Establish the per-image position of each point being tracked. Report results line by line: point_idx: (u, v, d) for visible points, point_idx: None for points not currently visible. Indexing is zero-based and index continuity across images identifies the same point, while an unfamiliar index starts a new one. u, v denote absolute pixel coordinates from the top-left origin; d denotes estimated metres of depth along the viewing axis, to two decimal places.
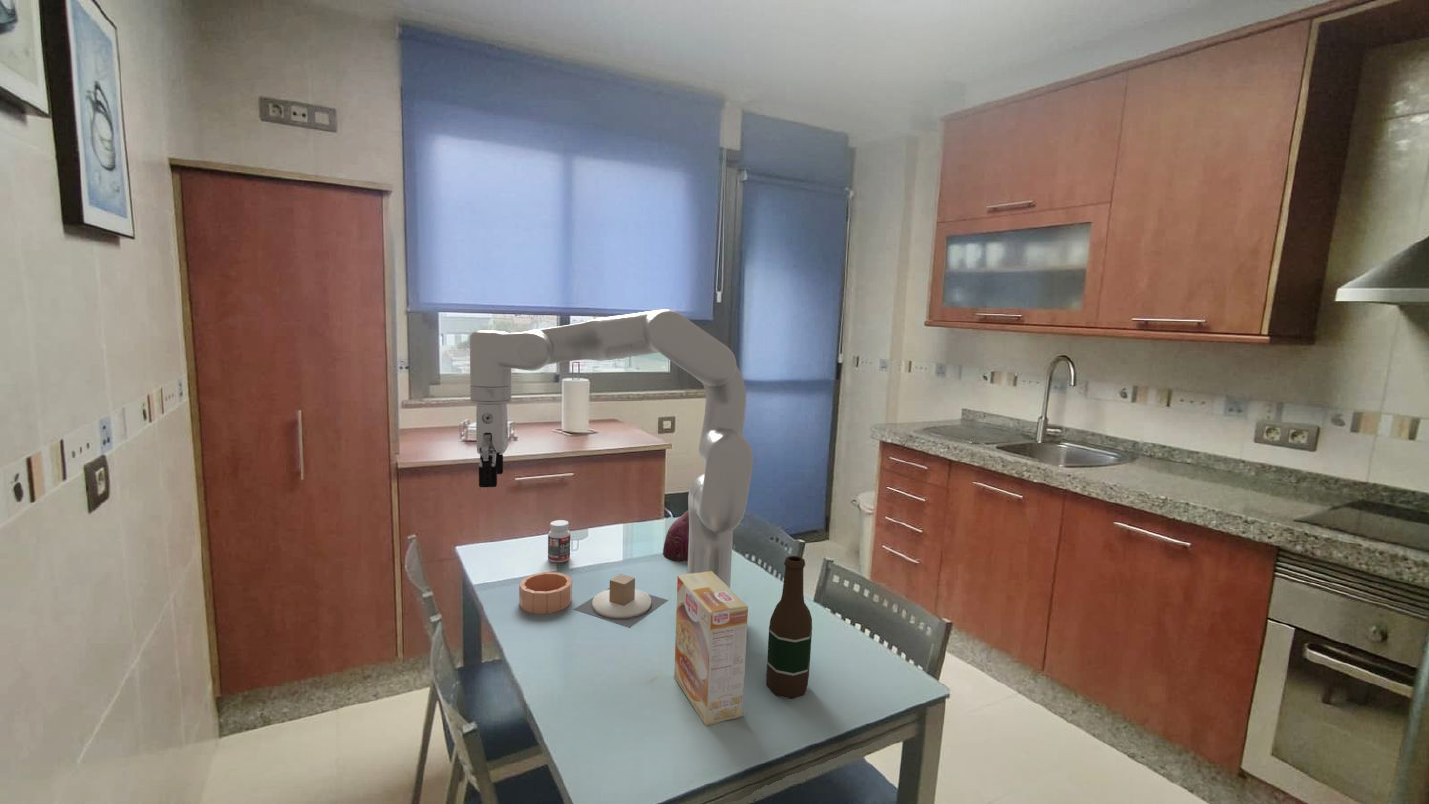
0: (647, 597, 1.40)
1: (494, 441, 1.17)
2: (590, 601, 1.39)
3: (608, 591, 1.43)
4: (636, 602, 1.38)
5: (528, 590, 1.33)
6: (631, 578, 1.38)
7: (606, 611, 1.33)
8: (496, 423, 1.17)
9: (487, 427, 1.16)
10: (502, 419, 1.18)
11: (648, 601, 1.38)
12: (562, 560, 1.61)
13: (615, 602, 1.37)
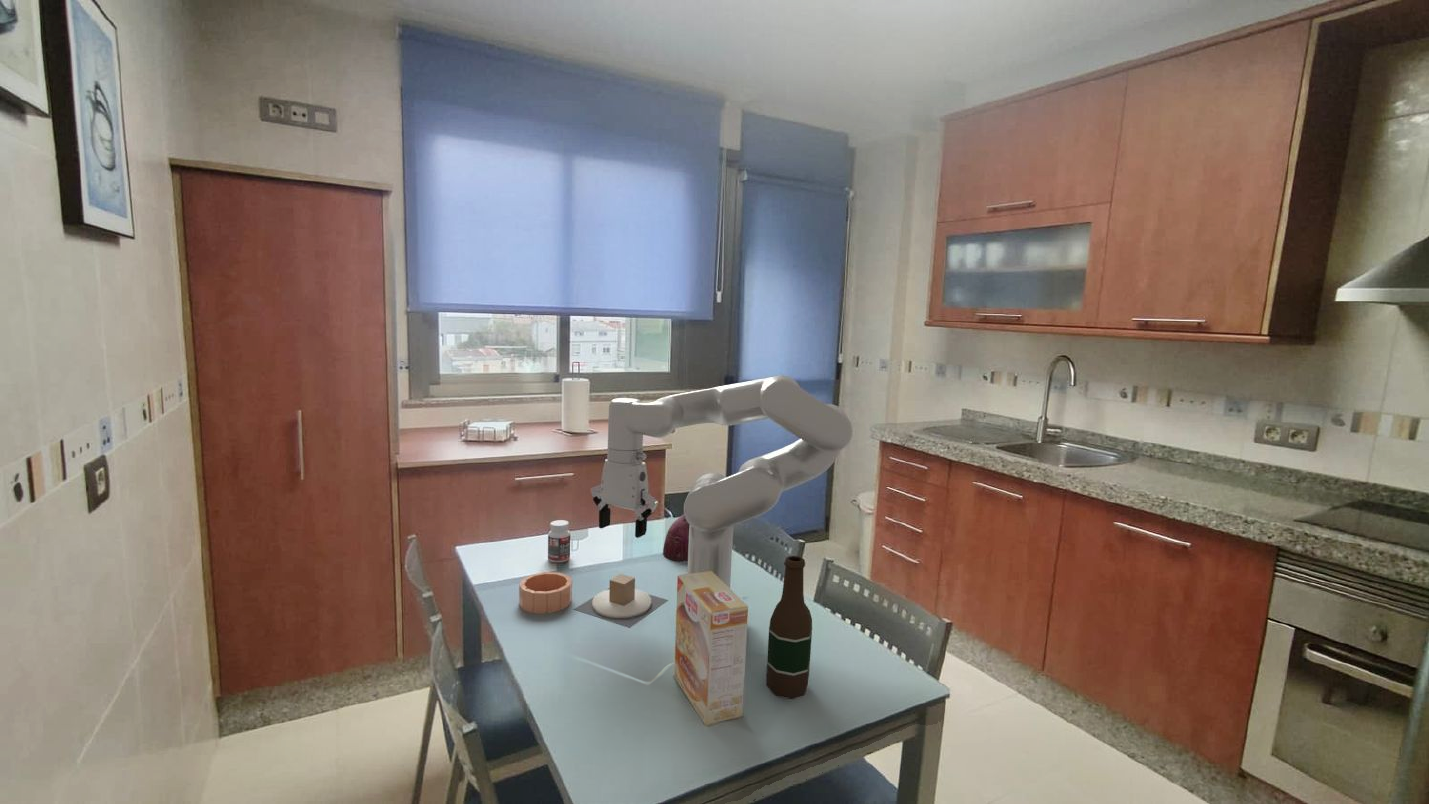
0: (647, 597, 1.40)
1: None
2: (590, 601, 1.39)
3: (608, 591, 1.43)
4: (636, 602, 1.38)
5: (528, 590, 1.33)
6: (631, 578, 1.38)
7: (606, 611, 1.33)
8: (646, 479, 1.34)
9: (643, 484, 1.32)
10: None
11: (648, 601, 1.38)
12: (562, 560, 1.61)
13: (615, 602, 1.37)
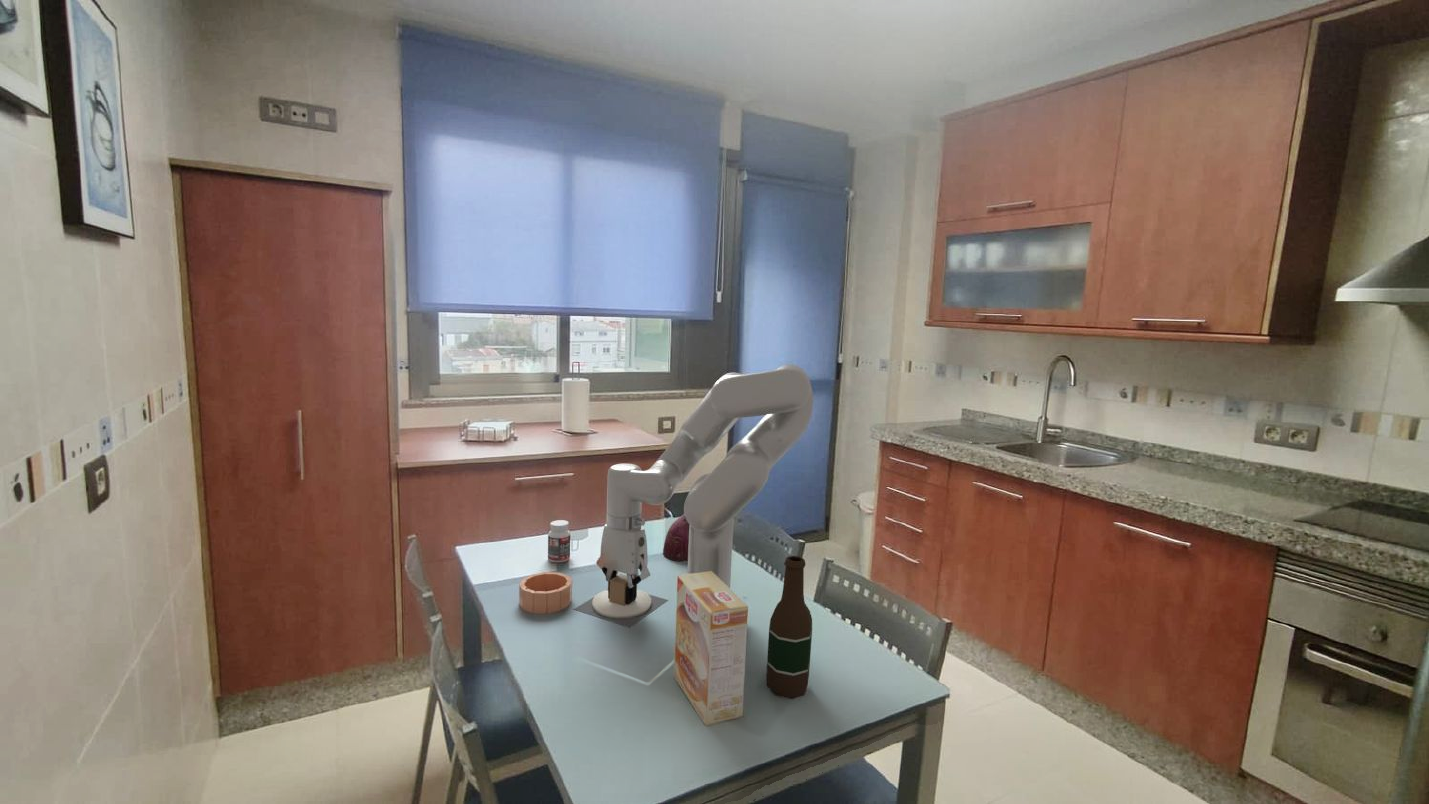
0: (647, 597, 1.40)
1: (645, 559, 1.36)
2: (590, 601, 1.39)
3: None
4: (636, 602, 1.38)
5: (528, 590, 1.33)
6: None
7: (606, 611, 1.33)
8: (645, 544, 1.36)
9: (642, 549, 1.34)
10: None
11: (648, 601, 1.38)
12: (562, 560, 1.61)
13: (615, 602, 1.37)
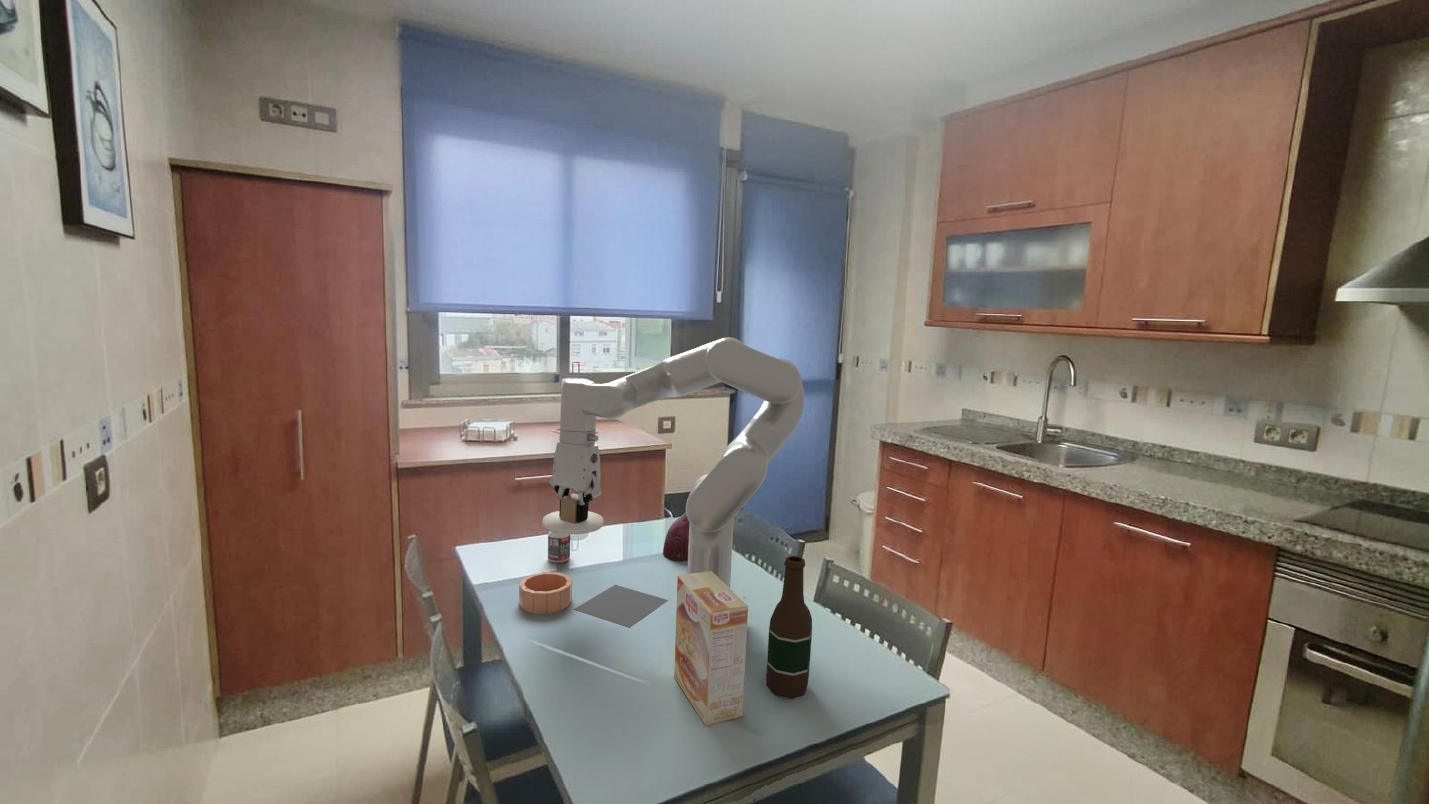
0: (600, 518, 1.38)
1: (597, 477, 1.33)
2: (590, 601, 1.39)
3: None
4: (587, 521, 1.35)
5: (528, 590, 1.33)
6: None
7: (555, 526, 1.30)
8: (598, 461, 1.33)
9: (594, 466, 1.32)
10: None
11: (600, 521, 1.36)
12: (562, 560, 1.61)
13: (566, 520, 1.34)
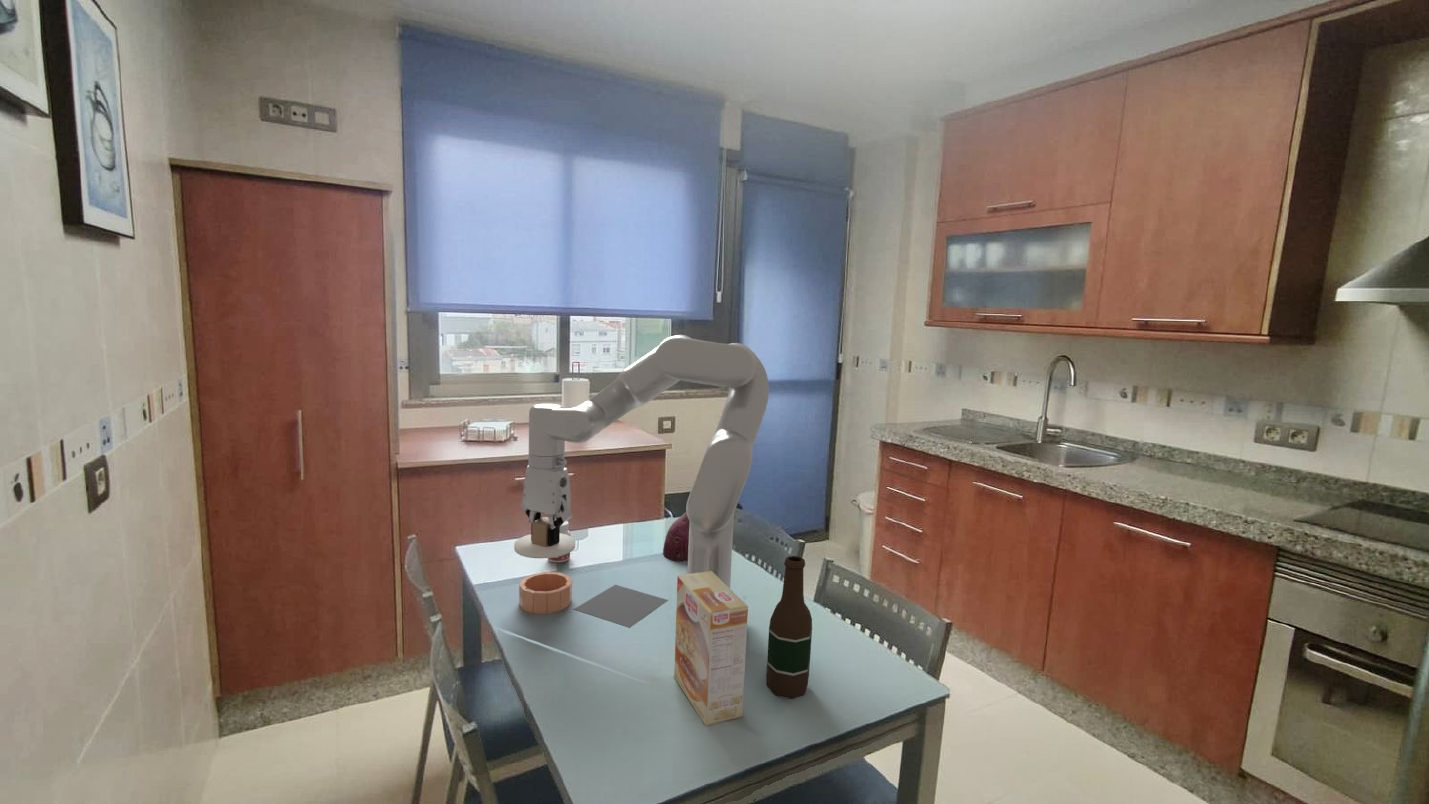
0: (572, 540, 1.39)
1: (567, 500, 1.34)
2: (590, 601, 1.39)
3: None
4: (559, 544, 1.36)
5: (528, 590, 1.33)
6: None
7: (526, 551, 1.31)
8: (568, 485, 1.34)
9: (563, 490, 1.33)
10: None
11: (572, 544, 1.37)
12: (562, 560, 1.61)
13: (537, 544, 1.35)
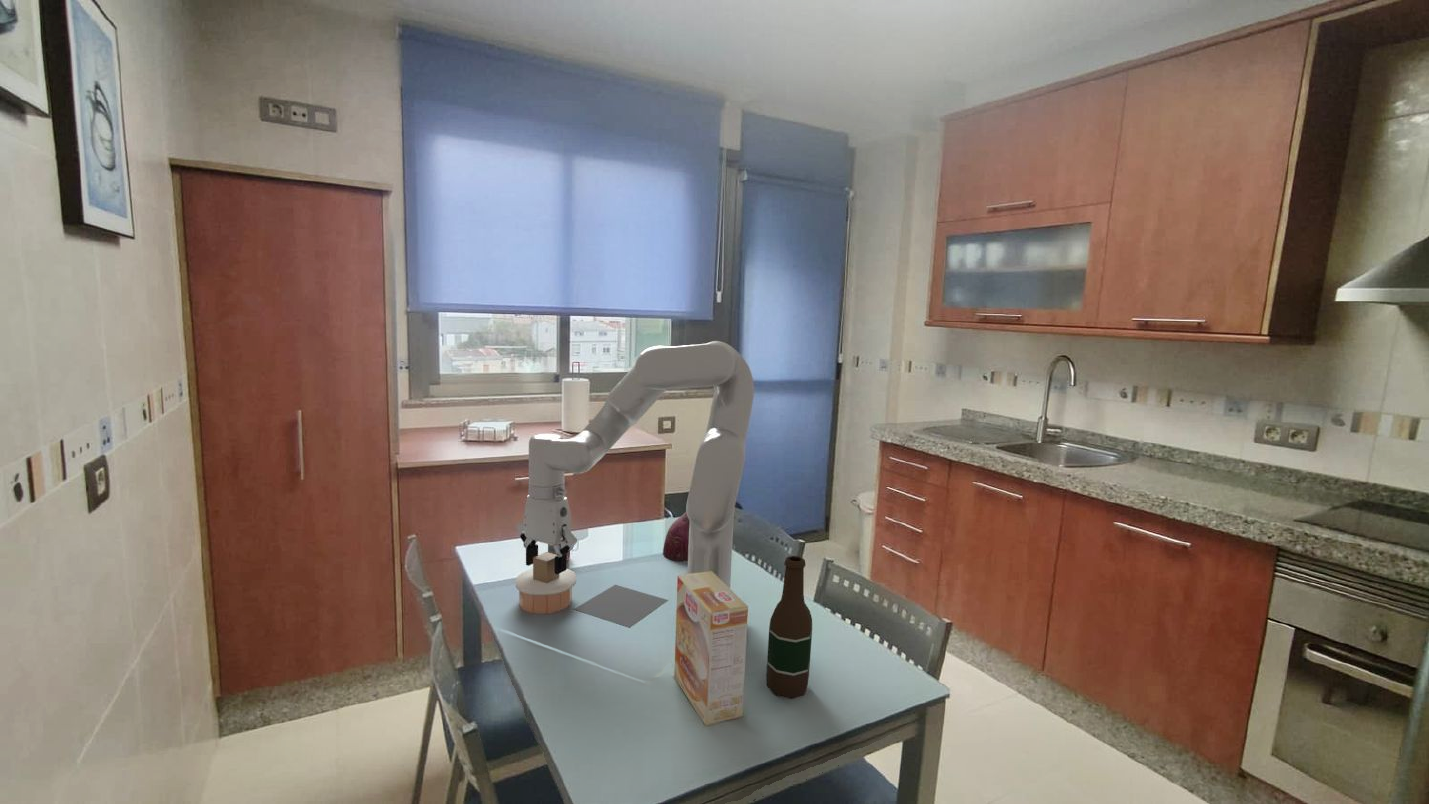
0: (573, 575, 1.40)
1: None
2: (590, 601, 1.39)
3: None
4: (560, 580, 1.37)
5: None
6: None
7: (527, 588, 1.32)
8: (568, 514, 1.35)
9: (564, 520, 1.33)
10: None
11: (572, 579, 1.38)
12: None
13: (538, 580, 1.36)
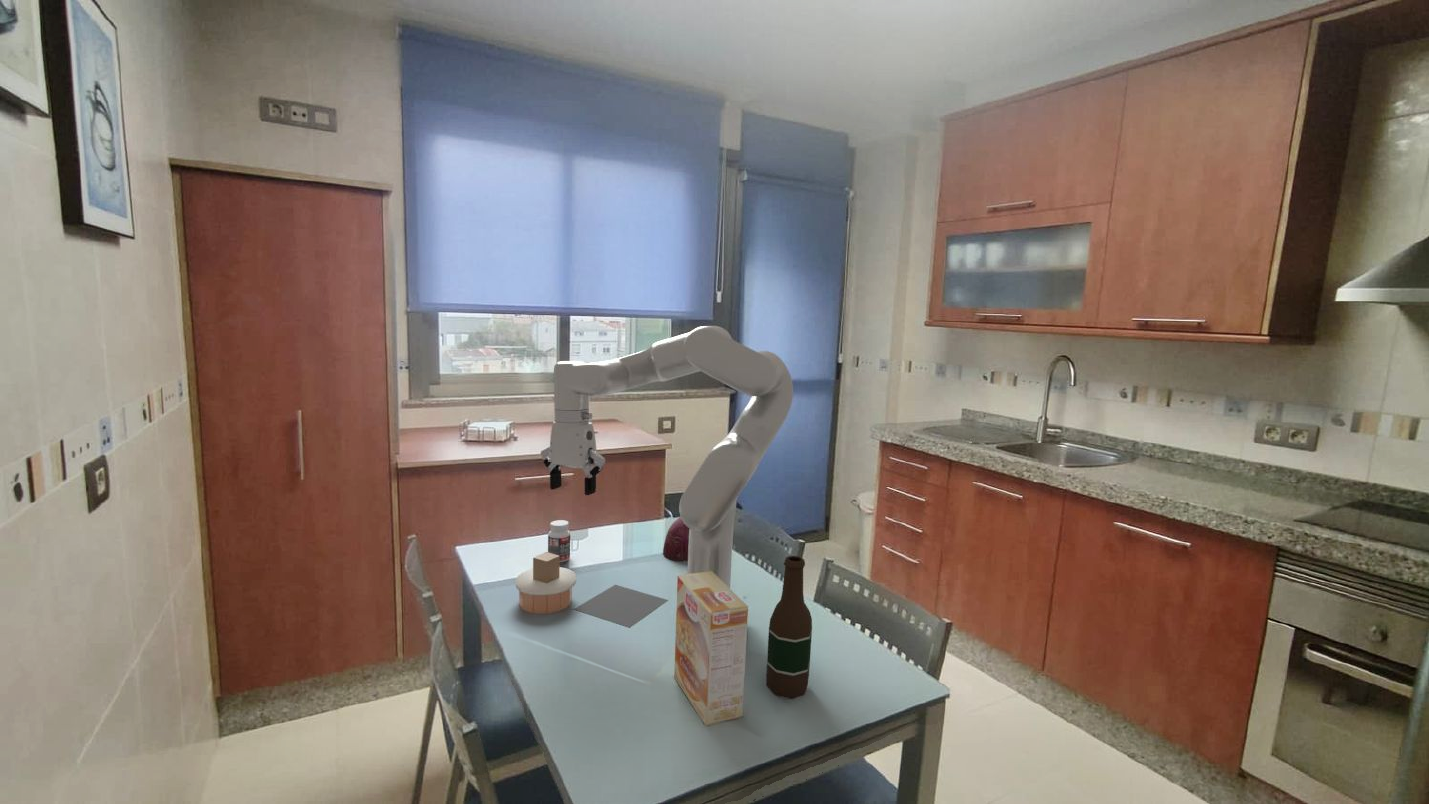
0: (573, 575, 1.40)
1: None
2: (590, 601, 1.39)
3: None
4: (560, 580, 1.37)
5: None
6: (555, 556, 1.37)
7: (527, 588, 1.32)
8: (594, 438, 1.38)
9: (590, 443, 1.37)
10: None
11: (572, 579, 1.38)
12: (562, 560, 1.61)
13: (538, 580, 1.36)
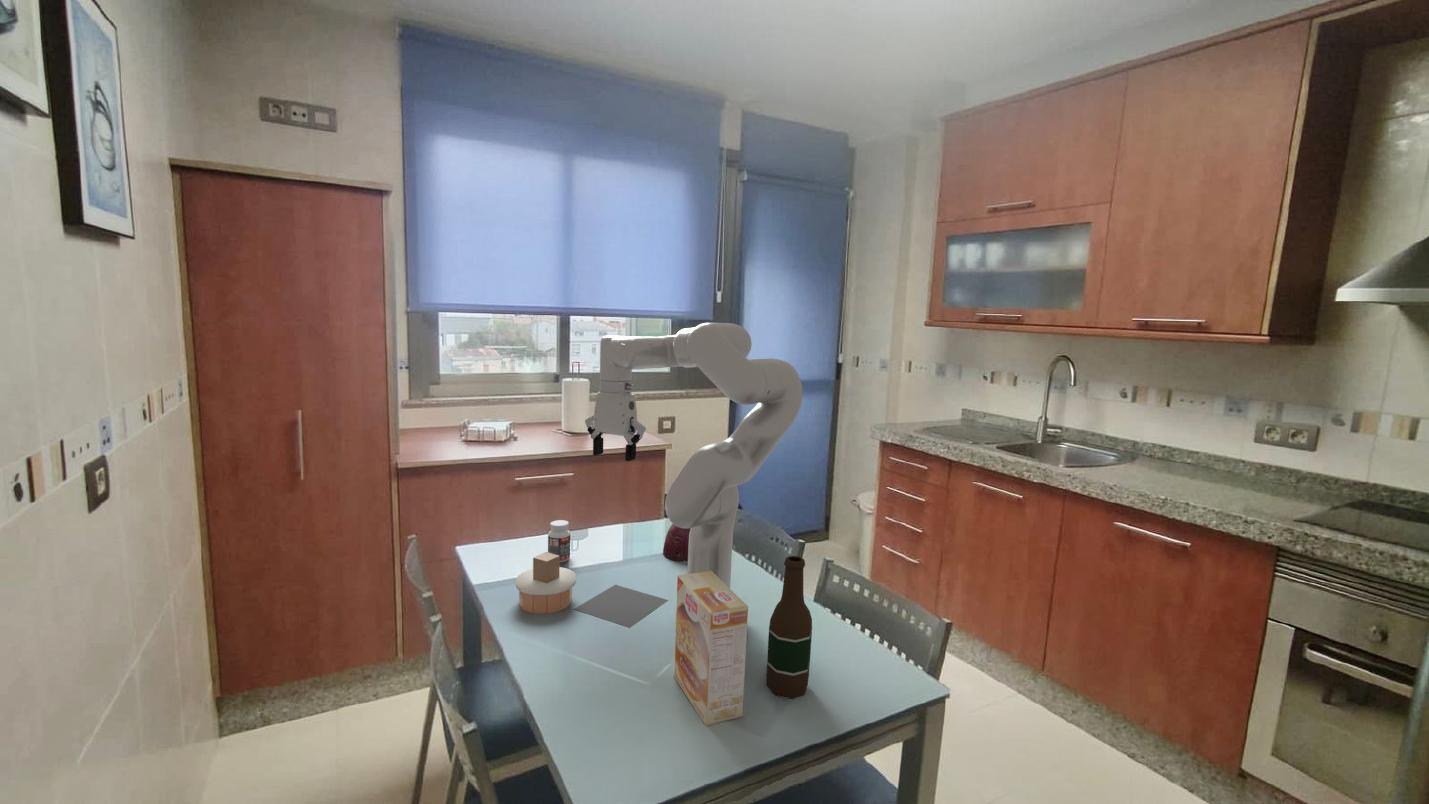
0: (573, 575, 1.40)
1: None
2: (590, 601, 1.39)
3: None
4: (560, 580, 1.37)
5: None
6: (555, 556, 1.37)
7: (527, 588, 1.32)
8: (635, 408, 1.48)
9: (632, 412, 1.47)
10: None
11: (572, 579, 1.38)
12: (562, 560, 1.61)
13: (538, 580, 1.36)
